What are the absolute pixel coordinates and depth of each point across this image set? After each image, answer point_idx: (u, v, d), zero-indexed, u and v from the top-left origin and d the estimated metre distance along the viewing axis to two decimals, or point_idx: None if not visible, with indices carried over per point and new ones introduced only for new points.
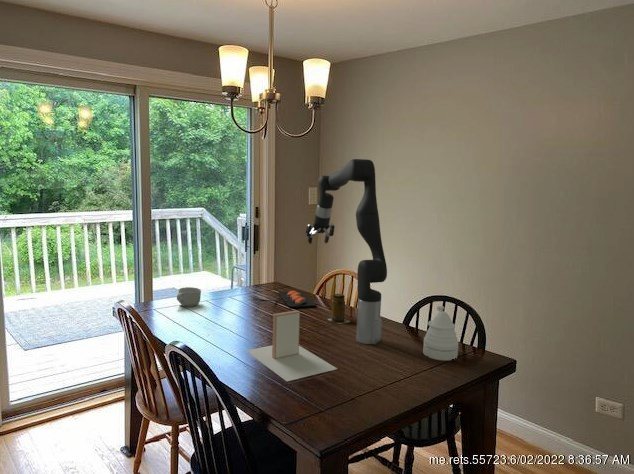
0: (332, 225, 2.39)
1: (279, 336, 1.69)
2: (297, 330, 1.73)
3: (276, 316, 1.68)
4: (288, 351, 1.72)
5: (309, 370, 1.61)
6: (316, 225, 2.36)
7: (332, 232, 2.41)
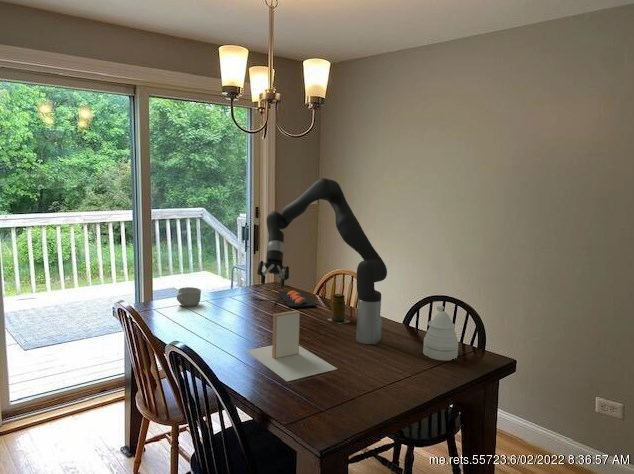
0: None
1: (279, 336, 1.69)
2: (297, 330, 1.73)
3: (276, 316, 1.68)
4: (288, 351, 1.72)
5: (309, 370, 1.61)
6: (268, 262, 2.15)
7: (287, 274, 2.17)
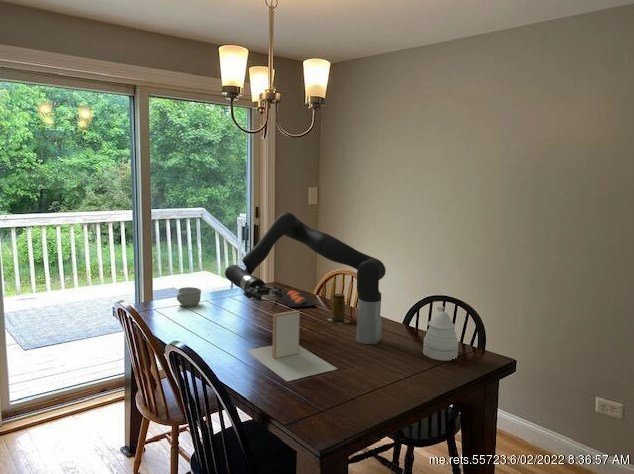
0: (272, 286, 1.92)
1: (279, 336, 1.69)
2: (297, 330, 1.73)
3: (276, 316, 1.68)
4: (288, 351, 1.72)
5: (309, 370, 1.61)
6: (252, 287, 1.88)
7: (278, 288, 1.89)
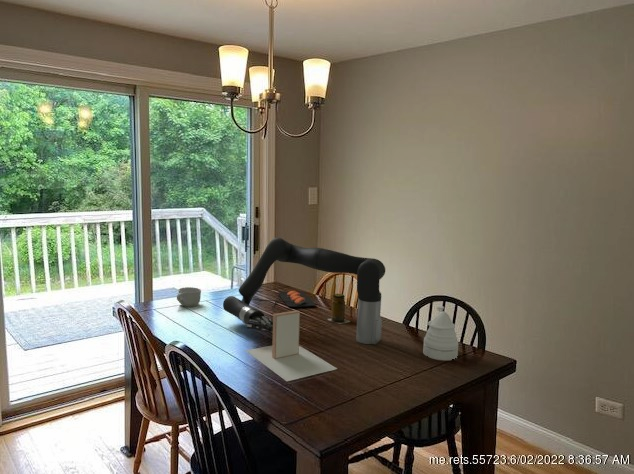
0: None
1: (279, 336, 1.69)
2: (297, 330, 1.73)
3: (276, 316, 1.68)
4: (288, 351, 1.72)
5: (309, 370, 1.61)
6: (250, 319, 1.88)
7: (272, 320, 1.87)
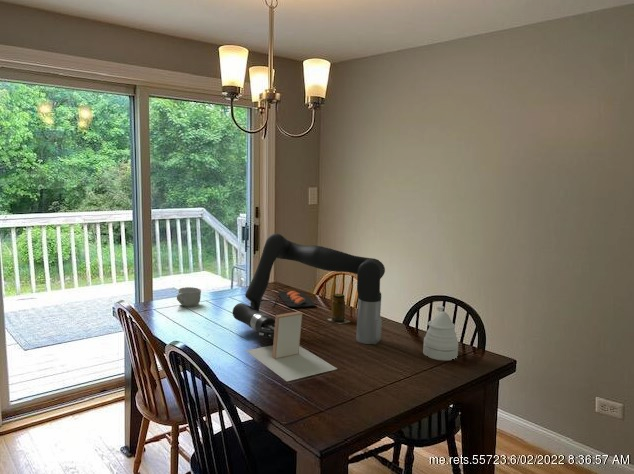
0: None
1: (281, 337, 1.69)
2: (298, 331, 1.72)
3: (279, 318, 1.66)
4: (289, 351, 1.72)
5: (309, 370, 1.61)
6: (262, 327, 1.80)
7: None
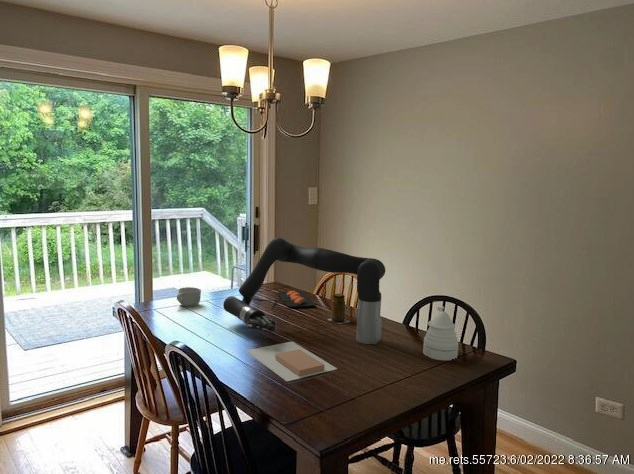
0: None
1: None
2: None
3: (299, 375, 1.57)
4: None
5: None
6: (250, 319, 1.87)
7: (273, 320, 1.87)
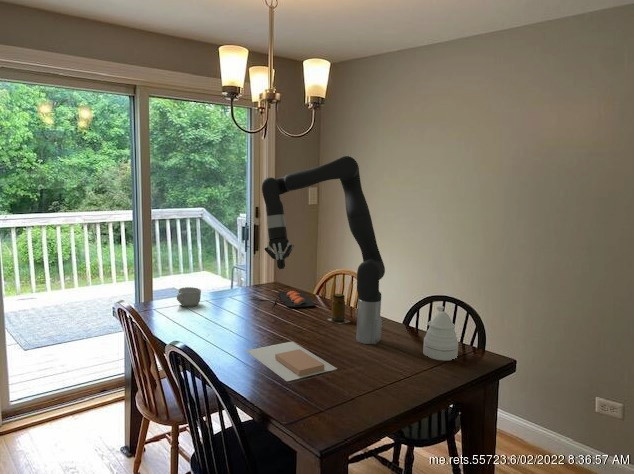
0: (290, 244, 1.93)
1: None
2: None
3: (299, 375, 1.57)
4: None
5: None
6: (269, 242, 1.96)
7: (286, 252, 1.93)
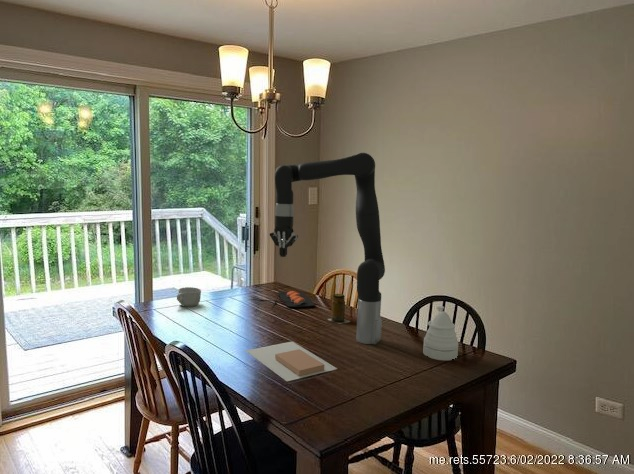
0: (294, 235, 1.93)
1: None
2: None
3: (299, 375, 1.57)
4: None
5: None
6: (275, 228, 1.97)
7: (289, 242, 1.94)
